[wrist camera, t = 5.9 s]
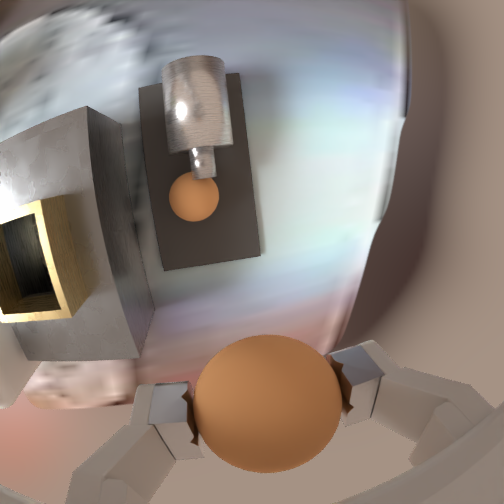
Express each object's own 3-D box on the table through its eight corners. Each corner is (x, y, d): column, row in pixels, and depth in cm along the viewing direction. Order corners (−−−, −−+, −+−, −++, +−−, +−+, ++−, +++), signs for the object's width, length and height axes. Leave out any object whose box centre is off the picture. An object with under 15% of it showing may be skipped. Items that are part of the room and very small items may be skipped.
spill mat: (139, 89, 20) (138, 88, 20) (238, 74, 21) (239, 73, 21) (164, 269, 25) (164, 271, 25) (259, 254, 26) (260, 256, 26)
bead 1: (169, 175, 23) (161, 177, 19) (215, 168, 23) (216, 168, 19) (176, 220, 24) (170, 230, 20) (220, 213, 24) (223, 221, 21)
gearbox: (21, 158, 19) (-51, 160, 9) (121, 124, 21) (66, 95, 10) (59, 320, 25) (14, 379, 14) (154, 309, 26) (133, 383, 16)
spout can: (165, 82, 20) (156, 62, 15) (222, 74, 21) (226, 52, 16) (176, 182, 23) (168, 184, 18) (233, 173, 23) (240, 173, 19)
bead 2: (180, 320, 8) (169, 428, 4) (312, 297, 8) (381, 382, 4) (207, 409, 9) (216, 502, 5) (312, 388, 9) (354, 470, 6)
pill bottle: (32, 282, 23) (-49, 354, 9) (67, 342, 26) (14, 435, 11) (-2, 302, 23) (-70, 366, 8) (30, 355, 25) (-20, 432, 11)
